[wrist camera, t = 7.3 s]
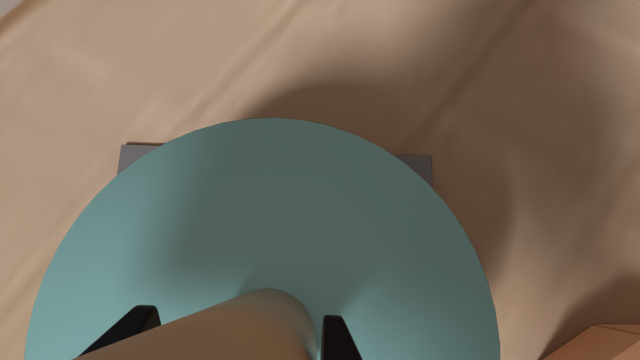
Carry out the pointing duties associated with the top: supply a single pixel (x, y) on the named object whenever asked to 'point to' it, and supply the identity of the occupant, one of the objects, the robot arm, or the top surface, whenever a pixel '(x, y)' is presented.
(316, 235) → the teal disc with post
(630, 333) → the bowl
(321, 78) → the top surface
